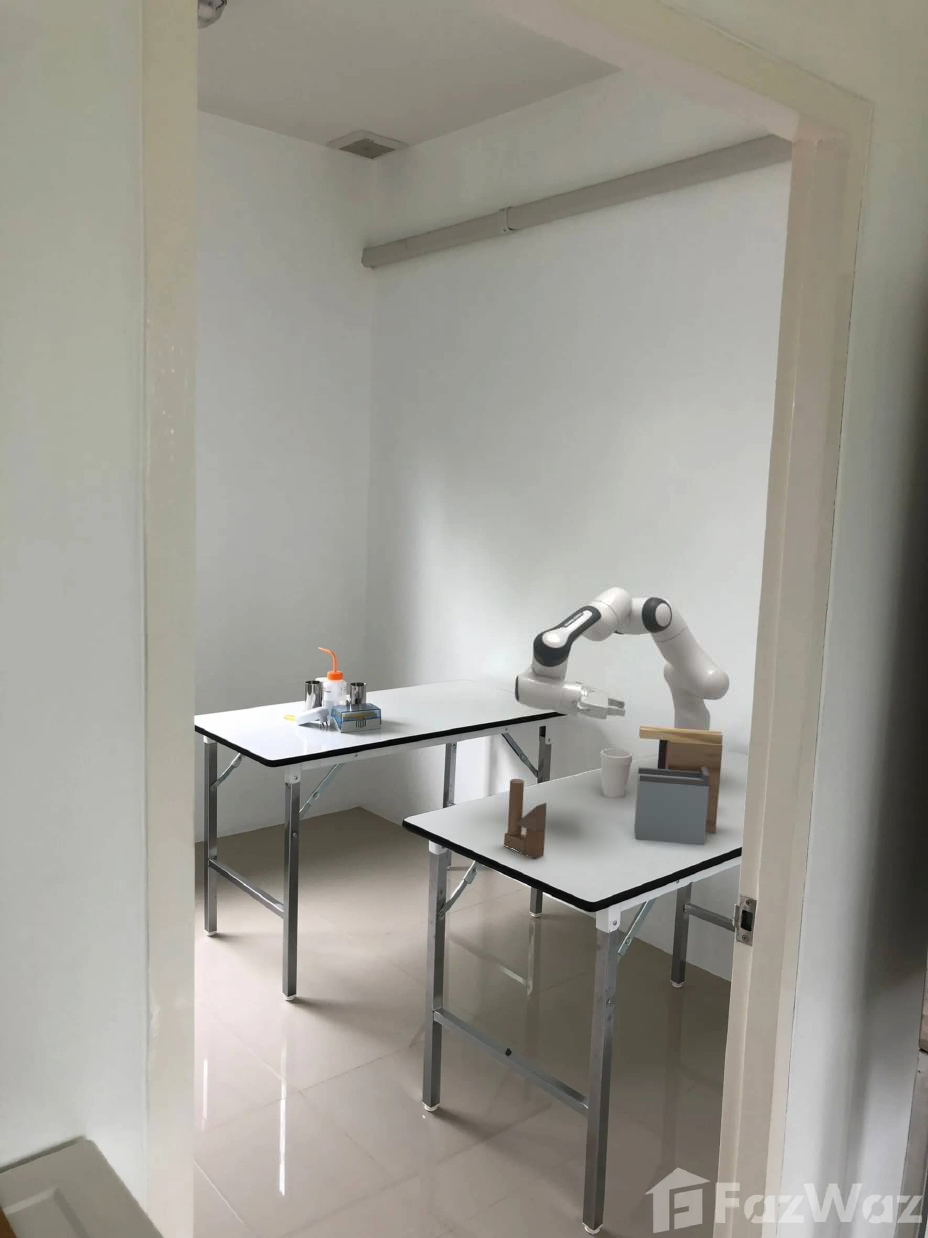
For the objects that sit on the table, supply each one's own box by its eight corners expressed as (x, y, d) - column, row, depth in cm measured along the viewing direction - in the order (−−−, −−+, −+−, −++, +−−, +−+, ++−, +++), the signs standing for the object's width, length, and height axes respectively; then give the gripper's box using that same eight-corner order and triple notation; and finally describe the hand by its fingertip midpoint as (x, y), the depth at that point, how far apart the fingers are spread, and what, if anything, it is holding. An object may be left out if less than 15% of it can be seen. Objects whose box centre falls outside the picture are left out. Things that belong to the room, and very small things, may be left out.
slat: (639, 734, 266) (639, 726, 265) (720, 740, 263) (721, 731, 263) (639, 738, 262) (640, 729, 262) (722, 744, 260) (722, 735, 259)
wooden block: (534, 859, 240) (538, 791, 237) (503, 846, 248) (506, 780, 245) (544, 856, 243) (547, 788, 240) (512, 843, 250) (516, 777, 247)
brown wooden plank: (661, 821, 270) (668, 735, 266) (712, 825, 268) (719, 739, 264) (663, 829, 264) (669, 741, 260) (715, 833, 262) (722, 745, 258)
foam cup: (604, 800, 286) (606, 758, 284) (593, 789, 295) (596, 748, 293) (634, 799, 288) (636, 757, 286) (623, 788, 297) (625, 748, 295)
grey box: (634, 828, 264) (638, 761, 261) (700, 833, 262) (706, 766, 259) (635, 839, 256) (640, 770, 253) (704, 844, 254) (709, 776, 251)
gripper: (574, 695, 247) (627, 705, 245) (576, 680, 267) (626, 690, 265) (569, 719, 248) (623, 729, 246) (572, 702, 268) (621, 712, 266)
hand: (624, 709), depth 256 cm, fingers open, 8 cm apart
